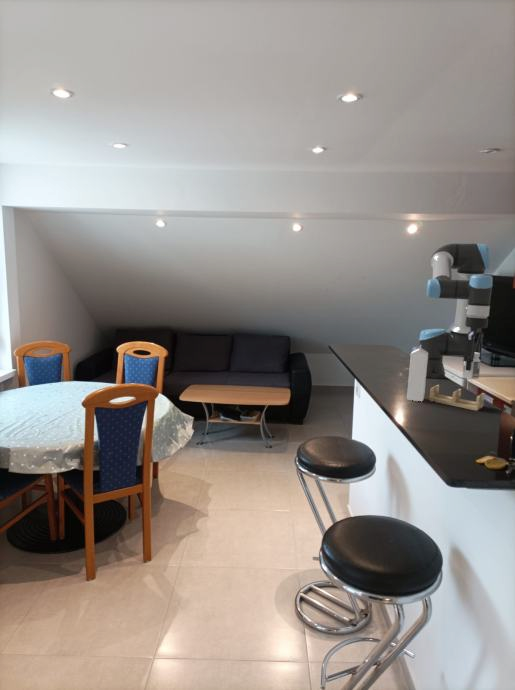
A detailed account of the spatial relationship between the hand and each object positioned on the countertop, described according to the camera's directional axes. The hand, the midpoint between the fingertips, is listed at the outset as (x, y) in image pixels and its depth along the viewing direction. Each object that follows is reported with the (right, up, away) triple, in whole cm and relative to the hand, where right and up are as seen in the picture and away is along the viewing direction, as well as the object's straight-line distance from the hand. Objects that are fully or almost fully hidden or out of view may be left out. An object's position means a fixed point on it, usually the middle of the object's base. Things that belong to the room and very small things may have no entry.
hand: (470, 377), depth 172 cm
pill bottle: (0, -1, 0) cm, 1 cm away
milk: (-18, -10, +9) cm, 22 cm away
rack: (-4, -11, +5) cm, 12 cm away
